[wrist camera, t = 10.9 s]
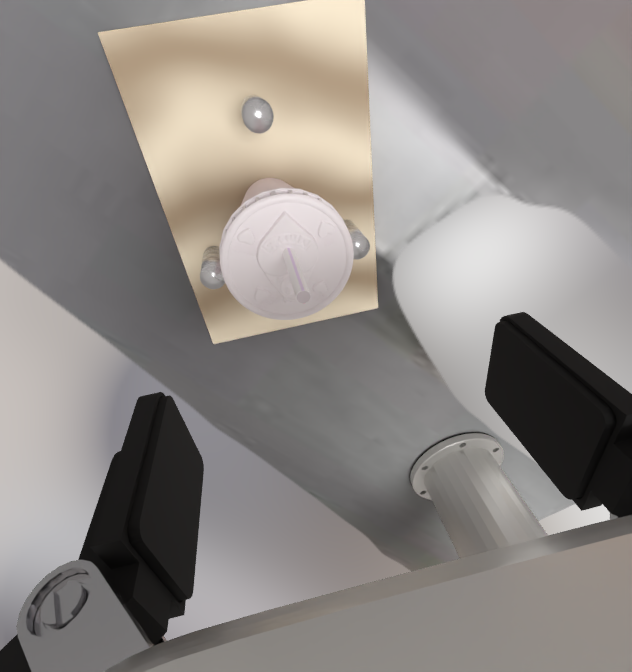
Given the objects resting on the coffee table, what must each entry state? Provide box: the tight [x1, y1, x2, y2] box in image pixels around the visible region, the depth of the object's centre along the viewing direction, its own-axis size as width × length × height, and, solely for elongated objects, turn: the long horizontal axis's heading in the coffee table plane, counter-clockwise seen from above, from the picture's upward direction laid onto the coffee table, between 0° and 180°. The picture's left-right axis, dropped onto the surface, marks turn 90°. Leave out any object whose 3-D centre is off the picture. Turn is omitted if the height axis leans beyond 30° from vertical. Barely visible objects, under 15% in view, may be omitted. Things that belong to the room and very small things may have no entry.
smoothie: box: [219, 178, 354, 320], centre depth 20 cm, size 6×6×14 cm
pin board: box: [98, 0, 378, 344], centre depth 24 cm, size 20×14×5 cm
